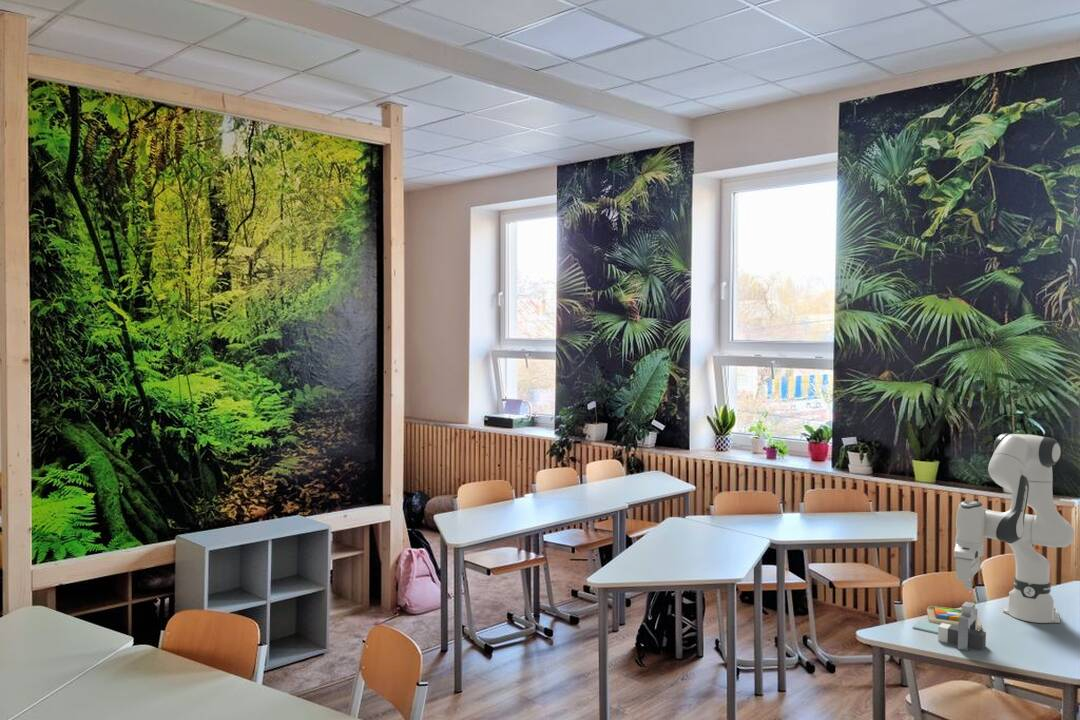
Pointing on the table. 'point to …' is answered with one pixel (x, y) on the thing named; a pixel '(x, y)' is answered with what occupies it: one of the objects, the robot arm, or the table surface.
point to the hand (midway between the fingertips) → (967, 588)
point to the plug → (951, 636)
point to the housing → (966, 624)
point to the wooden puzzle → (946, 616)
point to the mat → (926, 626)
